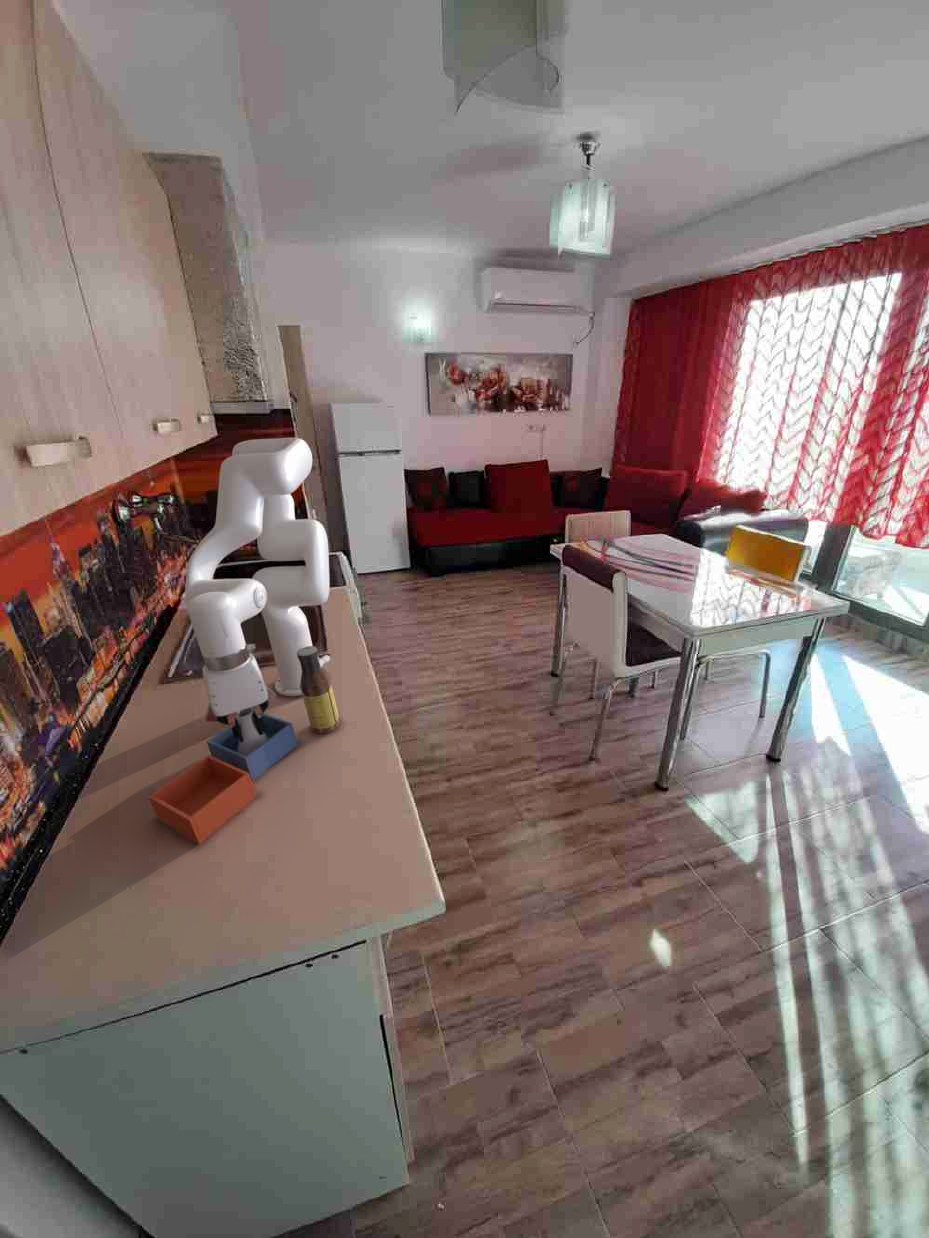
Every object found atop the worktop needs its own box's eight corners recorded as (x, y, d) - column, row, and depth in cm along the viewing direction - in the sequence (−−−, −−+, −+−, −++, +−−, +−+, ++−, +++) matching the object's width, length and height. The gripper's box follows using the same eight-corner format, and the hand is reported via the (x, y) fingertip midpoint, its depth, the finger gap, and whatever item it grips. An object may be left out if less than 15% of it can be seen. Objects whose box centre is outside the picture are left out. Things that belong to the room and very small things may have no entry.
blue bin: (260, 729, 106) (254, 709, 104) (297, 744, 101) (292, 723, 99) (214, 763, 97) (206, 741, 95) (252, 781, 92) (245, 758, 89)
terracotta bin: (216, 776, 93) (208, 754, 91) (256, 796, 88) (249, 773, 86) (158, 819, 84) (147, 796, 82) (199, 844, 79) (189, 820, 77)
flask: (234, 767, 95) (221, 727, 90) (240, 744, 101) (227, 705, 97) (272, 759, 96) (261, 719, 92) (275, 737, 103) (264, 698, 98)
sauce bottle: (324, 715, 110) (307, 639, 101) (345, 721, 107) (330, 644, 99) (304, 732, 105) (285, 654, 96) (326, 738, 102) (308, 659, 94)
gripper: (268, 637, 96) (287, 711, 103) (176, 662, 88) (205, 740, 96) (275, 651, 90) (295, 729, 98) (178, 679, 82) (208, 761, 90)
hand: (250, 734), depth 97 cm, fingers closed on flask, 3 cm apart
